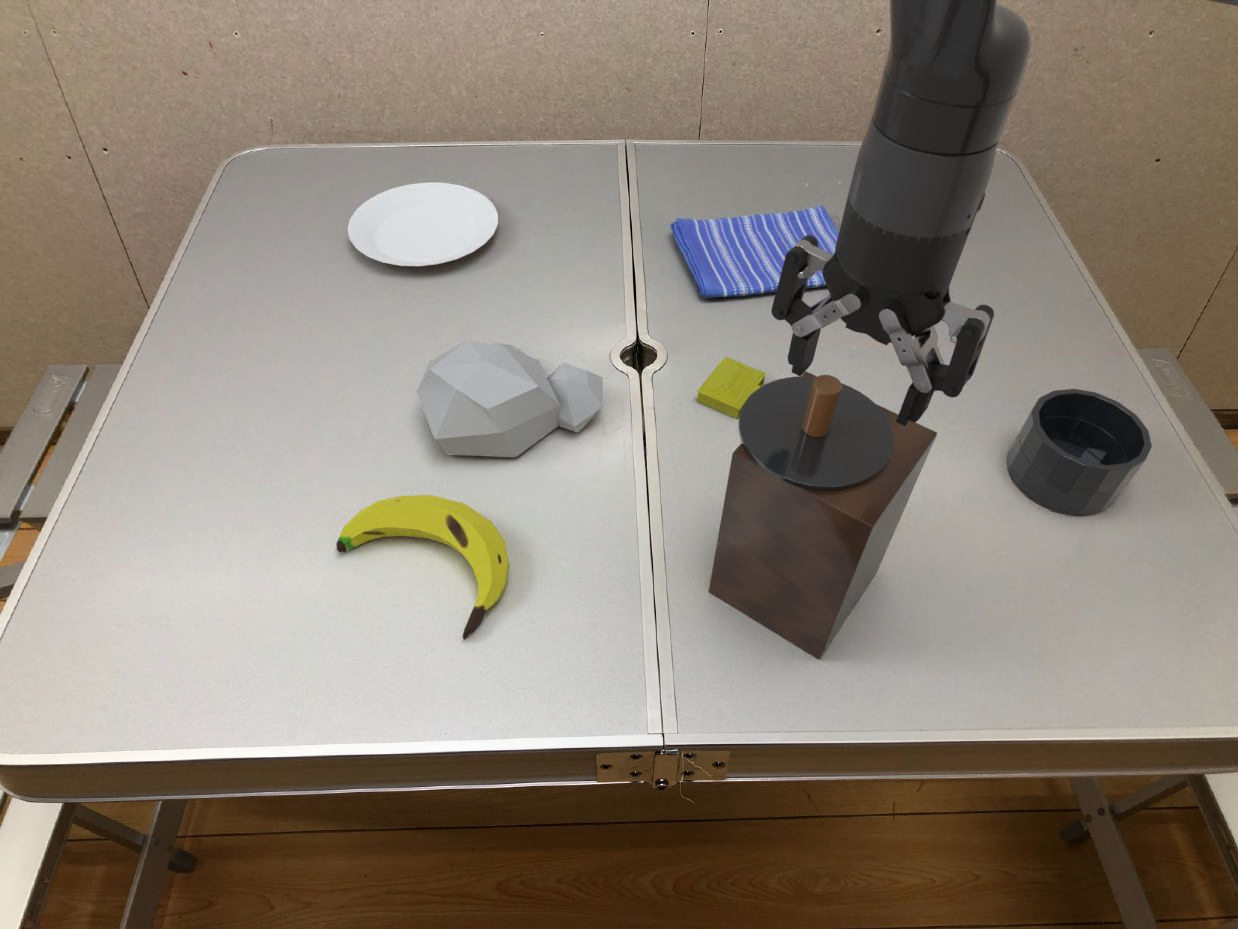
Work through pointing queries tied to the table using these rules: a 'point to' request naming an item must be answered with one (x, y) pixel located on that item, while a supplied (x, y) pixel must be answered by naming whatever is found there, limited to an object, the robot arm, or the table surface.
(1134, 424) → the pot
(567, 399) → the rock
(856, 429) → the lid
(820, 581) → the brown rectangular block
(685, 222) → the dish towel
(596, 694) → the table surface
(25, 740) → the table surface
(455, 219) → the plate
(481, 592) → the banana
